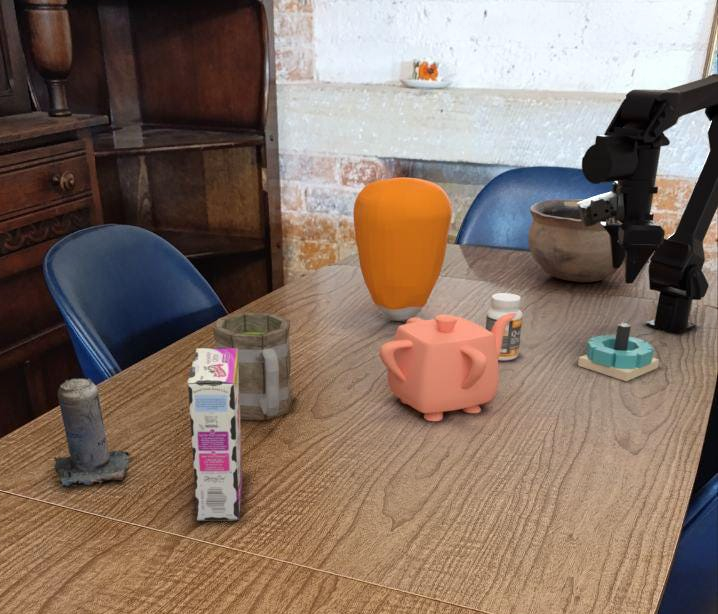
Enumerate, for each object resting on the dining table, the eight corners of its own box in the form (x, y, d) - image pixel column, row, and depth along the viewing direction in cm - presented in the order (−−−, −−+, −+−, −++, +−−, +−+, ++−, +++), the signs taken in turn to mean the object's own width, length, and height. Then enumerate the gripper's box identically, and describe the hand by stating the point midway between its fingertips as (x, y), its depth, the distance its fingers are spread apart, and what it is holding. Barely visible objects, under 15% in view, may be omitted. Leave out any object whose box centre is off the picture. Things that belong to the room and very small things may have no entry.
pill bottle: (517, 363, 142) (523, 303, 137) (482, 360, 143) (487, 300, 138) (518, 351, 147) (525, 293, 142) (484, 348, 148) (489, 290, 143)
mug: (210, 396, 128) (204, 316, 122) (281, 387, 131) (279, 309, 125) (235, 440, 115) (230, 353, 109) (314, 429, 118) (313, 344, 112)
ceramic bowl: (639, 293, 178) (651, 218, 171) (532, 292, 178) (540, 216, 171) (612, 266, 198) (623, 197, 191) (516, 264, 198) (523, 195, 191)
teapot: (375, 419, 121) (377, 328, 115) (400, 379, 135) (403, 295, 128) (495, 434, 117) (505, 341, 111) (509, 391, 131) (518, 306, 125)
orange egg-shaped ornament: (337, 328, 156) (337, 182, 144) (372, 302, 170) (374, 167, 158) (429, 341, 150) (437, 190, 139) (457, 314, 164) (467, 174, 153)
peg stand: (609, 353, 146) (615, 312, 143) (657, 368, 141) (665, 326, 137) (577, 365, 141) (583, 323, 138) (626, 381, 135) (633, 338, 132)
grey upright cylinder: (61, 493, 101) (45, 397, 96) (53, 465, 107) (38, 373, 102) (140, 480, 105) (129, 386, 99) (128, 453, 111) (117, 363, 105)
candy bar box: (242, 521, 96) (234, 382, 89) (196, 523, 96) (184, 383, 88) (245, 474, 106) (238, 345, 98) (203, 475, 106) (193, 346, 98)
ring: (609, 343, 146) (611, 330, 145) (662, 359, 140) (664, 346, 139) (574, 356, 141) (576, 343, 139) (627, 373, 134) (630, 359, 133)
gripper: (574, 167, 146) (563, 260, 154) (597, 187, 130) (584, 290, 138) (641, 168, 146) (627, 261, 154) (673, 188, 130) (656, 291, 137)
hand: (622, 275), depth 145 cm, fingers open, 9 cm apart
